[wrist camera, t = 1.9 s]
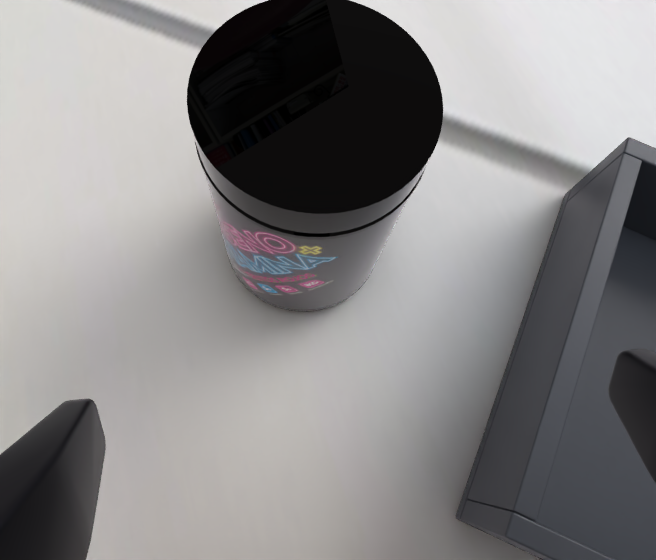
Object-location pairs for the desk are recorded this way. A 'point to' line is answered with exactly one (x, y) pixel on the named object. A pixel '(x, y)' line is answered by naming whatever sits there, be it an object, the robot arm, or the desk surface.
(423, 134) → the supplement container
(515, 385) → the square tray
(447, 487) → the desk surface
